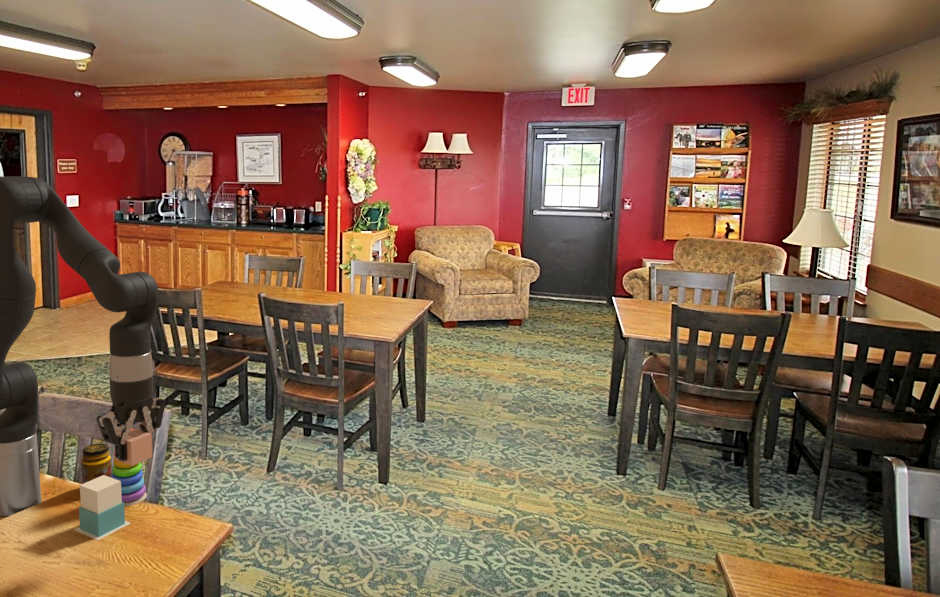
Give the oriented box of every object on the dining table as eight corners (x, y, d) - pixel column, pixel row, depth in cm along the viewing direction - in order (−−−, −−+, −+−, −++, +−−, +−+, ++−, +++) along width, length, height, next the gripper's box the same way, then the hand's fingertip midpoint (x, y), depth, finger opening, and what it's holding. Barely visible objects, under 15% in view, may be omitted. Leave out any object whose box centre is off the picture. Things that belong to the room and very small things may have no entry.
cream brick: (80, 507, 134) (79, 485, 133) (104, 496, 138) (103, 474, 137) (98, 514, 131) (97, 491, 130) (121, 502, 136) (120, 481, 135)
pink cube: (116, 459, 126) (115, 436, 125) (136, 451, 130) (135, 428, 129) (131, 465, 124) (131, 441, 123) (152, 457, 128) (151, 433, 127)
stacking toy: (100, 507, 145) (96, 431, 141) (127, 492, 153) (124, 419, 149) (128, 514, 143) (125, 437, 139) (154, 498, 151) (152, 424, 147)
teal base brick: (80, 528, 134) (78, 507, 133) (106, 516, 140) (105, 495, 139) (98, 537, 132) (97, 515, 131) (125, 523, 137) (124, 502, 136)
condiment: (115, 497, 150) (113, 450, 148) (73, 505, 145) (70, 457, 143) (112, 484, 156) (110, 438, 154) (72, 491, 151) (69, 445, 149)
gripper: (110, 387, 116) (113, 474, 119) (175, 368, 129) (177, 447, 132) (83, 379, 119) (87, 464, 122) (149, 361, 132) (152, 438, 135)
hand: (134, 454), depth 127 cm, fingers closed on pink cube, 4 cm apart
